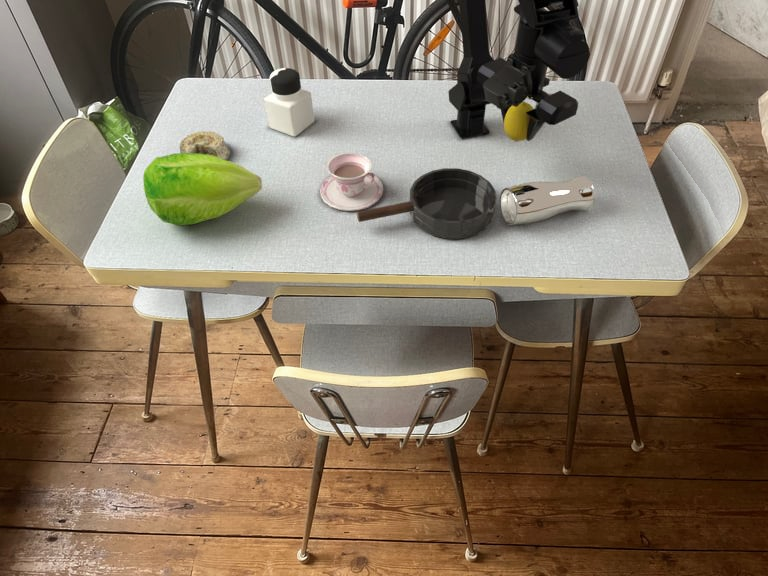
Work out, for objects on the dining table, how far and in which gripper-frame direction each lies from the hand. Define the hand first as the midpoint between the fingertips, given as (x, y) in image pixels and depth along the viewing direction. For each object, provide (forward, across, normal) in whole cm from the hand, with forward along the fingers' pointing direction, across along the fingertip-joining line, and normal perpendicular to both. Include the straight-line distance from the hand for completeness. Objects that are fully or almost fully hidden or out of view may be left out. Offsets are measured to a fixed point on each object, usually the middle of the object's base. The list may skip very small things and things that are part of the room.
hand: (517, 132), depth 105 cm
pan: (+9, +2, -16) cm, 19 cm away
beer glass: (+6, +15, +4) cm, 16 cm away
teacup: (+10, -14, -28) cm, 33 cm away
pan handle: (+7, -3, -28) cm, 29 cm away
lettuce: (+10, -24, -52) cm, 58 cm away
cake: (+10, -42, -45) cm, 62 cm away
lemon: (+2, 0, 0) cm, 2 cm away
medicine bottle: (+10, -41, -25) cm, 49 cm away
